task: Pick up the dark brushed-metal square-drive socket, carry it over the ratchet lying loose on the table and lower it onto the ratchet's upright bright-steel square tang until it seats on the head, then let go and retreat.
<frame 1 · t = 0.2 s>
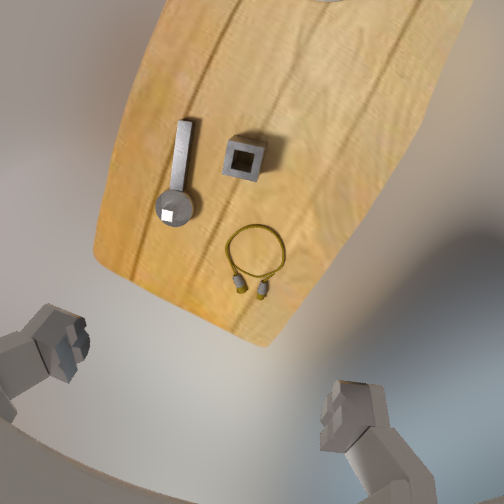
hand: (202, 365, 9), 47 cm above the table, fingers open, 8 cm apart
ratchet: (177, 204, 59), on the table
extension cord: (253, 259, 63), on the table
socket: (247, 154, 53), on the table
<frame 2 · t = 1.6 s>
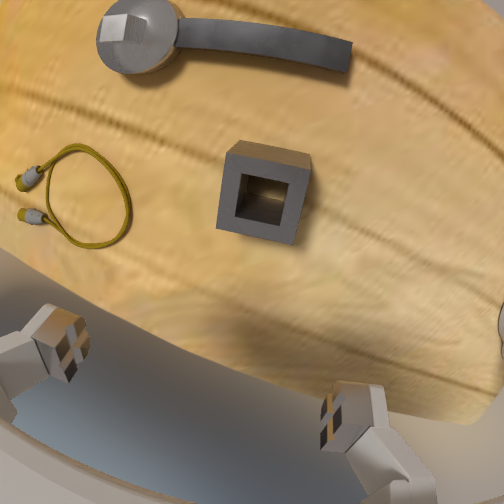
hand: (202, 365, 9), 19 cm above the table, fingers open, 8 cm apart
ratchet: (147, 35, 21), on the table
extension cord: (72, 193, 30), on the table
socket: (268, 179, 26), on the table
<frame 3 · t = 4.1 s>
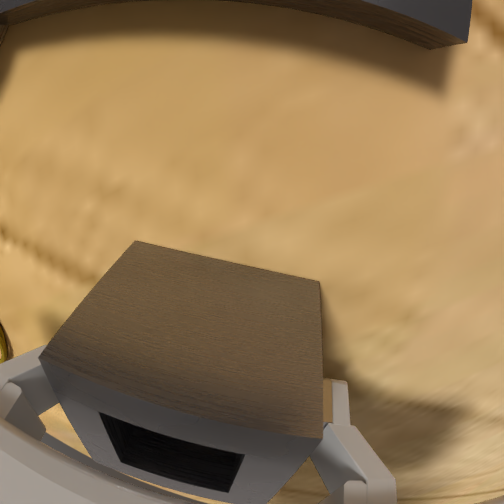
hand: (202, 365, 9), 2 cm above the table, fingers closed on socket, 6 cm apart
socket: (214, 330, 11), on the table, touching gripper
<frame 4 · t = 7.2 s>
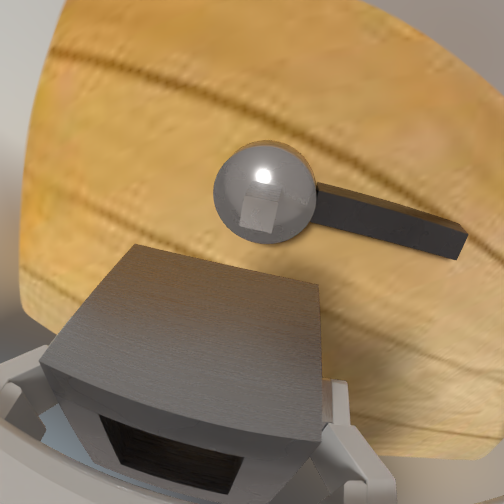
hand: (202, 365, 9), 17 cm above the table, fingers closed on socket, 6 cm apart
ratchet: (267, 186, 24), on the table
socket: (213, 332, 11), point 15 cm above the table, touching gripper
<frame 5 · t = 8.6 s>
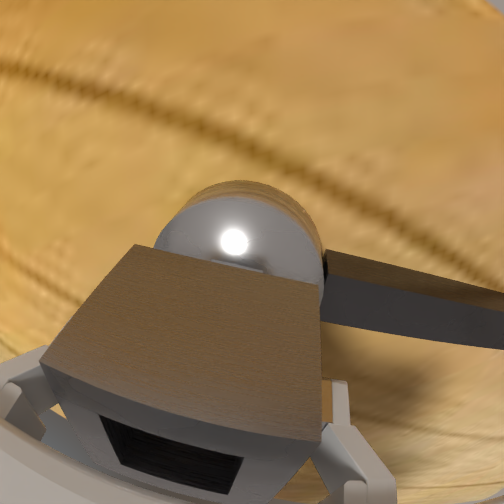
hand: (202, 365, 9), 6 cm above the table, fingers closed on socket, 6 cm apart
ratchet: (244, 254, 15), on the table
socket: (213, 332, 11), point 5 cm above the table, touching gripper
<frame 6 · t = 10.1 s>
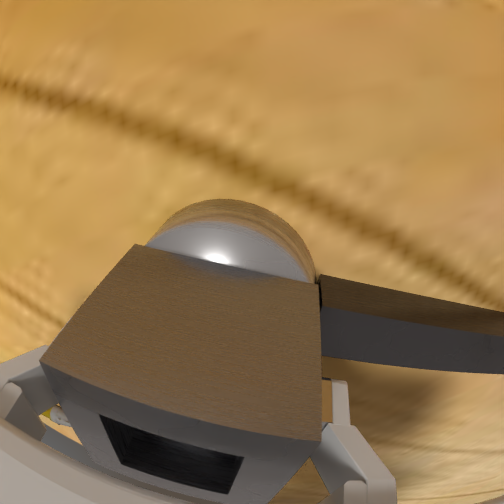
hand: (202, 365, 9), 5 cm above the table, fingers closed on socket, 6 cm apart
ratchet: (229, 280, 13), on the table
extension cord: (109, 409, 22), on the table
socket: (213, 332, 11), point 3 cm above the table, touching gripper
when the fingers open (5 cm above the table, at t = 10.1 s): socket stays where it is, resting on ratchet.
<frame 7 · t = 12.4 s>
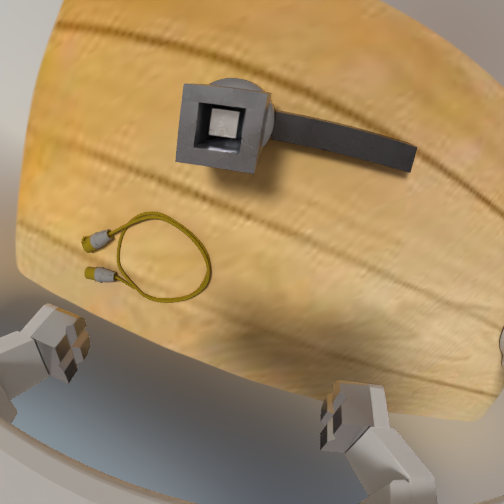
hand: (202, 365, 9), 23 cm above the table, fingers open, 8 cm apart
ratchet: (235, 116, 27), on the table, touching socket
extension cord: (145, 253, 36), on the table
socket: (231, 120, 25), point 2 cm above the table, touching ratchet
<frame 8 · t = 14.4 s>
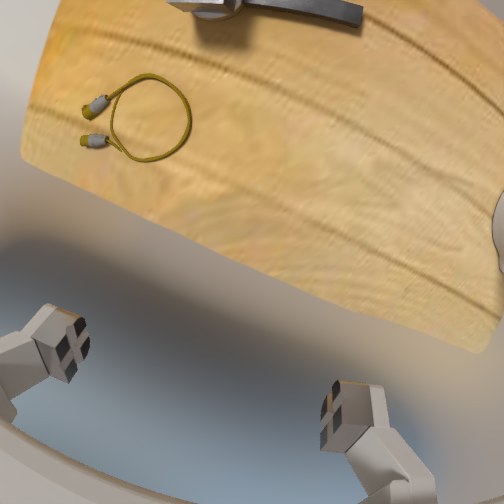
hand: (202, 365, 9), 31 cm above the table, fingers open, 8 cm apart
extension cord: (136, 116, 37), on the table
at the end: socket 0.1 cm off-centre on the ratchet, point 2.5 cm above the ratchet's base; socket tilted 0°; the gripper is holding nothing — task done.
